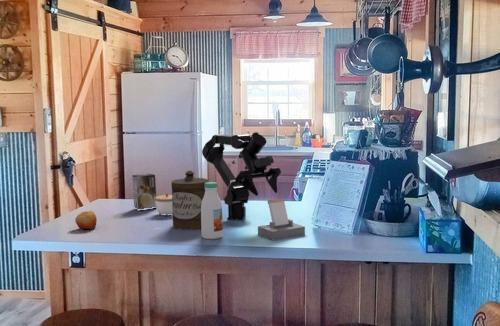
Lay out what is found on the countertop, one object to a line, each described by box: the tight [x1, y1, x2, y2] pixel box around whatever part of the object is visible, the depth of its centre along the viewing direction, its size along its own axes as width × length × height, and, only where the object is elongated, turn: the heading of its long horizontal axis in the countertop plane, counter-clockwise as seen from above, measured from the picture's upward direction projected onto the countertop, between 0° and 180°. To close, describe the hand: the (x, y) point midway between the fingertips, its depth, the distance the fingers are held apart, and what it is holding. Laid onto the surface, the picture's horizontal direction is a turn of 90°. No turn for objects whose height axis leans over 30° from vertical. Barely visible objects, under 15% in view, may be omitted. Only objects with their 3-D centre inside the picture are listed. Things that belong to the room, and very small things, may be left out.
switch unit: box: [257, 218, 306, 241], centre depth 197 cm, size 10×14×5 cm
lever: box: [267, 197, 289, 227], centre depth 198 cm, size 2×6×10 cm, turn 120°
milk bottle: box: [200, 181, 224, 240], centre depth 195 cm, size 8×8×20 cm
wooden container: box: [171, 170, 209, 230], centre depth 213 cm, size 15×15×22 cm
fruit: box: [75, 210, 98, 230], centre depth 212 cm, size 8×8×8 cm
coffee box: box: [131, 173, 157, 209], centre depth 248 cm, size 9×6×16 cm
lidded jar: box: [155, 192, 172, 215], centre depth 236 cm, size 11×11×9 cm
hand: (267, 193), depth 207 cm, fingers open, 9 cm apart
